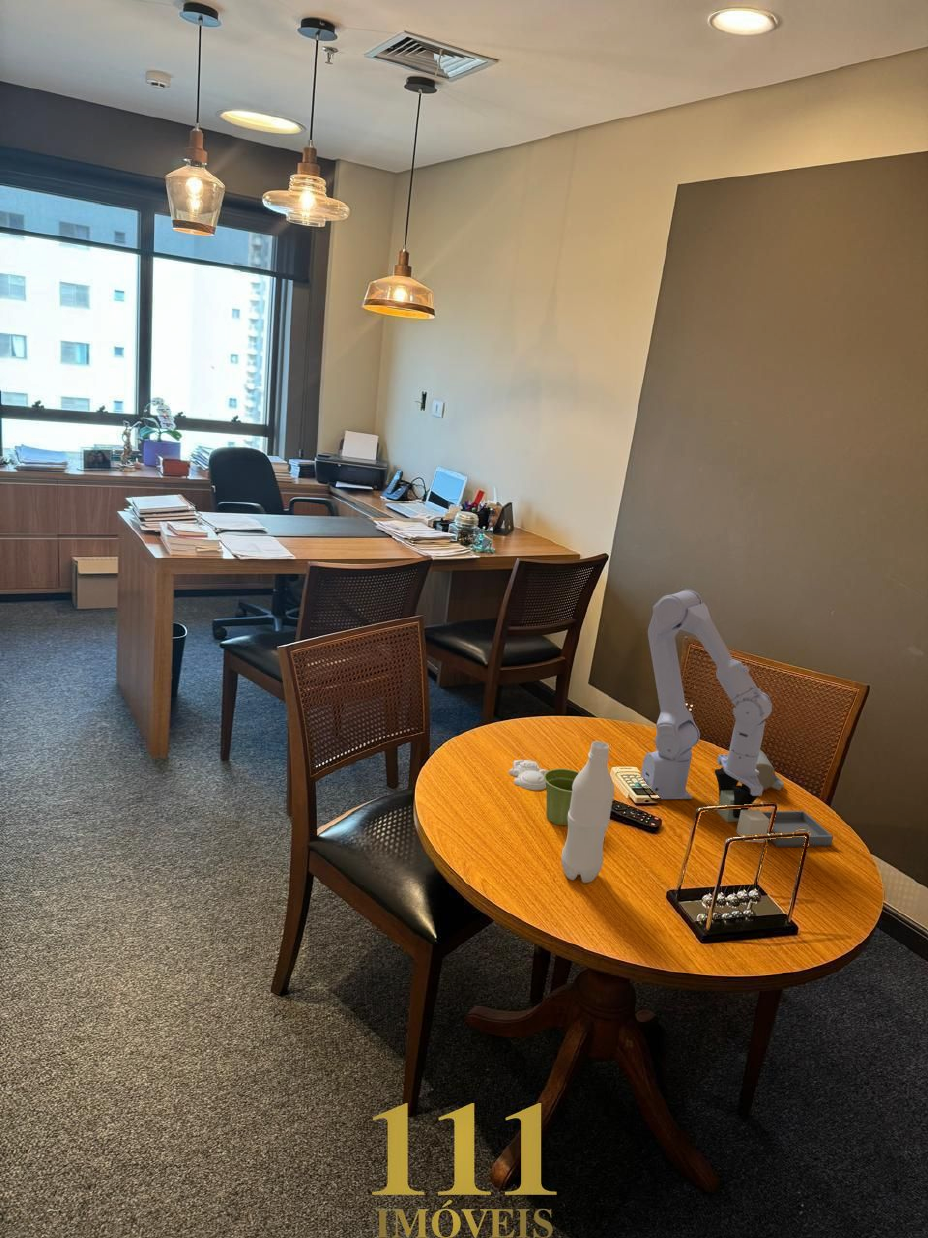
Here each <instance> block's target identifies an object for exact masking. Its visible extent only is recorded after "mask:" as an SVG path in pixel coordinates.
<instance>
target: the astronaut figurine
mask: <svg viewBox="0 0 928 1238" xmlns="http://www.w3.org/2000/svg"><path fill="white" fill-rule="evenodd" d="M547 771H548V770H547V769H545V768H542V769H541V768H540V766H539V764H538V763H537V762H536V761H534V760H529V759H526V760H525V759H520V760H517V759H515V760H514V761H513V762H512V768H510V769H509V771H508V774H509V775H510V776H514V777H515V778H514V779H513V784H514V785H516V786H518V787H520V788H523V789H526V790H531V791H541V790H543V791H544V790H545V789H547V788H546V782H545V781H544V774H545V773H546V772H547Z"/></svg>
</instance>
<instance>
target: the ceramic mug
mask: <svg viewBox="0 0 928 1238" xmlns="http://www.w3.org/2000/svg"><path fill="white" fill-rule="evenodd" d="M756 769H757V770H758V771H759V775H757V778H758V780H759V782H760V784H761V785H762V786H763V791H766V790H768V789H769V788H773V789H775V790H777V791H780V790H782V789H783V787H784V785H785V784H784V781H783V780H782V779H781V778H780V777H779V776H778V775H776V770H775V767H774V766H773V765H772V763H771V762H770V760H769V758H768V756H767V755H766V754H765V751H764V752H763V751H762V750H761V749H760V751H759V756H758V760H757V765H756Z"/></svg>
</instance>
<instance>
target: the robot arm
mask: <svg viewBox="0 0 928 1238" xmlns="http://www.w3.org/2000/svg"><path fill="white" fill-rule="evenodd" d="M652 611H653V613H652V616H651V619H650V622H649V625H648V629H647V637H648V645H649V649H650V654H651V661H652V662H651V663H652V668H653V673H654V679H655V686H656V691H657V692H656V693H657V699H658V704H659V709H660V714H659V716H658V719H657V722H656V724H655V725H656V735H655V738H654V743H655V748H656V750H655V751H653V752H647V753H645V756H644V757H643V761H642V767H641V772H640V777H642V778H643V780H644V781H645V782H646V784H647V785H648V786H649V787H650V788H651V790H652V791H653V792H654V793H655V794H656V795H658V796H659V797H660V798H661V799H660V800H692V799H693V795H692V794H691V793H689V791H688V790H687V785H688V784H687V783H688V779H689V774H690V770H691V769H690V768H691V763H692V758H693V750H692V749H693V747H695V746H697V744H698V743H699V741H700V738H701V737H700V735H701V734H700V730H699V728H698V726H697V724H696V723H695V721H694V717H693V714H692V712H690V711H689V709H688V708H687V705H686V699H685V698H686V697H685V692H684V688H683V681H682V674H681V668H680V661H679V656H678V650H677V643H676V636H677V635H678V633H679V632H680V631H684V632H686V633H690V634H693V635H695V636H696V638H697V639H698V640H699V642H700V643H701V645H702V646H703V648H704V650H705V651H706V652H707V653H708V655H709V656H710V658H711V660H712V661H713V663H714V664H715V666H717V667H716V674H715V676H716V678H717V680H718V681H719V683H720V684H721V687H722V688H723V690H724V692H725V693H726V695H727V696H728V698H729V700H730V701H731V703H732V704H733V705H734V707H733V708H732V714H733V717H734V719H735V722H734V726H733V731H732V735H731V740H730V745H729V749H728V754H718V755H717V762H716V763H717V765H719V766H721V767H720V768H716V769H715V770H714V774H715V776H716V780H717V785H718V796H719V797H718V800H719V799H720V794H721V791H723V790H733V792H734V805H744V804H751V805H752V804H753V803H754V802H755V801H756V799H758V798H760V796H762V794H763V791H764V790H763V786H762V785H761V784H760V782H759V780H758V778H757V775H759V771H758V770H757V769H756V765H757V760H758V756H759V751H760V750H761V746H762V742H763V738H764V737H763V736H764V731H765V726H766V722H767V721H766V719H767V718H768V717H769V716H770V715H771V713H772V712H773V704H772V701H771V697H770V696H769V695H768V694H767V693H765V692H763V691H762V690H761V688H760V687H759V688H758V687H757V684H756V683H755V682H754V679H752V677H751V675H750V674H749V672H750V668H749V667H748V665H744V663H743V662H742V661H740V660H738V659H734V658H733V657H732V655H731V653H730V651H729V649H728V647H727V646H726V644H725V642H724V639H723V638H722V636H721V634H720V633H719V631H718V629H717V627H716V625H715V624H714V622H713V620H712V618H711V615H710V612H709V607H708V606H707V605H706V604H705V603H704V602H703V600H702V597H701V596H700V594H699V593H698V592H697V591H694V590H692V589H683V590H681V591H680V590H679V592H676V593H672V594H666V595H664V596H662V597H661V598H660V599H659V600H658V601H657V602H656V603H654V605H653V606H652ZM739 782H740V783H741V785H738V784H739ZM741 810H750V807H749V808H741V809H733V817H734V818H739V817H740V812H741Z"/></svg>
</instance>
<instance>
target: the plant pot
mask: <svg viewBox="0 0 928 1238" xmlns="http://www.w3.org/2000/svg"><path fill="white" fill-rule="evenodd" d="M579 772H580V771H577V770H574V769H570V768H554V769H553V768H552V769H550V770H547V772H546V773H545V774H544V781H545V782H546V788H545V789H546V809H545V810H546V813H545V814H546V818H547V820H548V821H549V822H550V823H552V824H553V825H554V824H555V825H557V826H566V827H568V812H569V810H570V803H571V797H572V785H573V782H574V780H575V778H576V776H577V775H578V774H579Z"/></svg>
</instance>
